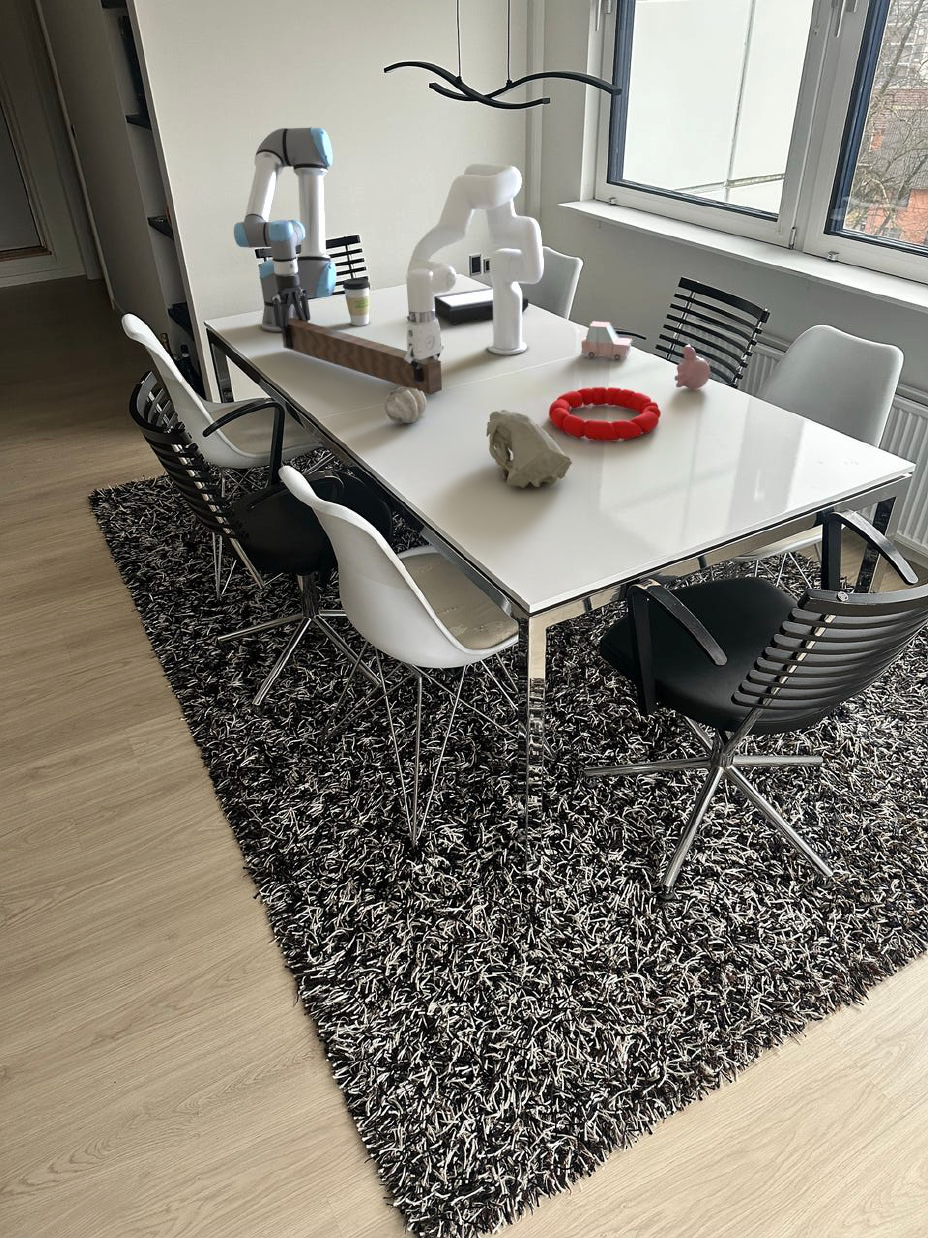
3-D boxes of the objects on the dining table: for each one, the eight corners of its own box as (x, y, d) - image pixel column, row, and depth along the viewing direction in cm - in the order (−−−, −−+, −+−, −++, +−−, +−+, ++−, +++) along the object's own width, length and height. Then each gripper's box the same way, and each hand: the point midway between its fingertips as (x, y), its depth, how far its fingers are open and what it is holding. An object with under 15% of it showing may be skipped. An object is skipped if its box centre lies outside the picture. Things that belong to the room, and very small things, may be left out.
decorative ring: (589, 435, 224) (684, 402, 234) (527, 398, 247) (617, 369, 256) (589, 461, 229) (683, 427, 238) (529, 422, 251) (617, 393, 260)
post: (283, 347, 301) (279, 321, 296) (295, 343, 304) (292, 317, 299) (429, 394, 260) (428, 365, 255) (442, 389, 263) (440, 360, 258)
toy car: (626, 362, 283) (628, 330, 277) (579, 358, 288) (580, 327, 282) (632, 353, 290) (634, 322, 285) (586, 349, 295) (588, 318, 289)
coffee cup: (372, 326, 323) (368, 283, 314) (345, 327, 323) (340, 284, 315) (374, 318, 331) (371, 276, 322) (348, 319, 331) (344, 277, 323)
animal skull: (496, 517, 219) (521, 479, 201) (463, 429, 225) (484, 384, 207) (557, 503, 225) (586, 465, 206) (523, 417, 231) (549, 373, 212)
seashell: (375, 421, 248) (372, 387, 243) (423, 410, 254) (421, 376, 248) (391, 434, 241) (388, 398, 235) (439, 422, 246) (438, 387, 241)
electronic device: (448, 308, 317) (427, 295, 332) (449, 326, 320) (428, 312, 335) (528, 296, 327) (504, 284, 342) (528, 313, 330) (504, 301, 346)
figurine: (665, 387, 264) (669, 347, 257) (693, 380, 268) (698, 340, 261) (686, 396, 257) (690, 355, 250) (714, 388, 262) (720, 348, 255)
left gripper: (270, 280, 279) (281, 354, 292) (316, 269, 290) (324, 340, 303) (256, 277, 283) (267, 349, 297) (302, 266, 294) (311, 336, 307)
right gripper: (409, 325, 244) (413, 389, 255) (452, 311, 254) (454, 373, 265) (390, 320, 249) (395, 383, 259) (434, 306, 259) (437, 367, 269)
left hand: (296, 345), depth 300 cm, fingers closed on post, 5 cm apart
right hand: (425, 377), depth 262 cm, fingers closed on post, 5 cm apart
